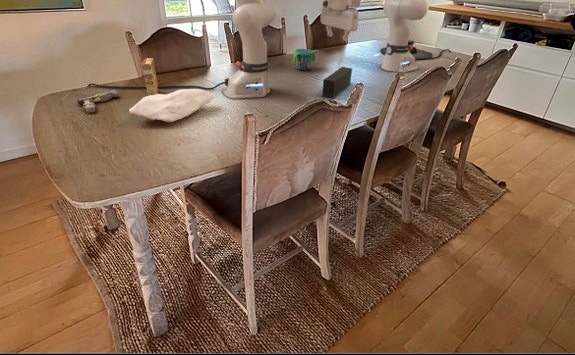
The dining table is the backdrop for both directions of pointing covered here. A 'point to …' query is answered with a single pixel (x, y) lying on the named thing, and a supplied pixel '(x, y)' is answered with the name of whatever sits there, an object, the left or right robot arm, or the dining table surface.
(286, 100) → the dining table surface
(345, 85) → the bar
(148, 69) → the candy box
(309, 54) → the snack cup
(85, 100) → the handgun
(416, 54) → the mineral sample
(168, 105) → the crumpled cloth
